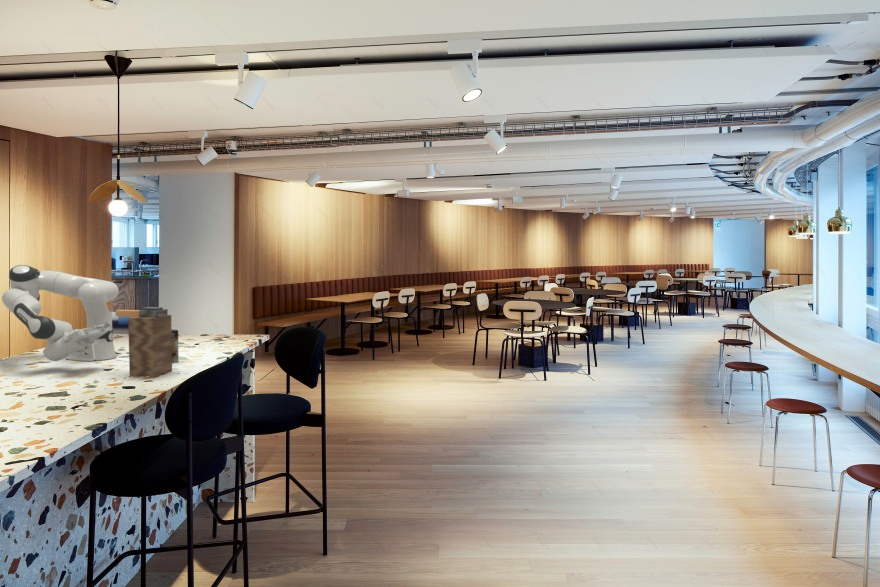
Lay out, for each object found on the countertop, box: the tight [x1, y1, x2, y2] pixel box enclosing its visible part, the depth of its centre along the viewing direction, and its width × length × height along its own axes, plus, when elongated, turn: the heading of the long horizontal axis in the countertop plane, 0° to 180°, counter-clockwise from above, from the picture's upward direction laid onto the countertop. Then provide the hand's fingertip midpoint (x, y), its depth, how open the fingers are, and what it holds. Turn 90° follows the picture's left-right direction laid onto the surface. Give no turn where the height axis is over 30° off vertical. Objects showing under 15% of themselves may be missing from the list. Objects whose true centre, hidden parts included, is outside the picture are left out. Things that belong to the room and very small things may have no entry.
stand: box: [127, 308, 173, 378], centre depth 270 cm, size 12×14×29 cm
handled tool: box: [115, 306, 164, 318], centre depth 269 cm, size 20×5×4 cm, turn 86°
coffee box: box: [171, 328, 180, 364], centre depth 296 cm, size 9×6×16 cm
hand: (102, 325), depth 271 cm, fingers open, 8 cm apart
